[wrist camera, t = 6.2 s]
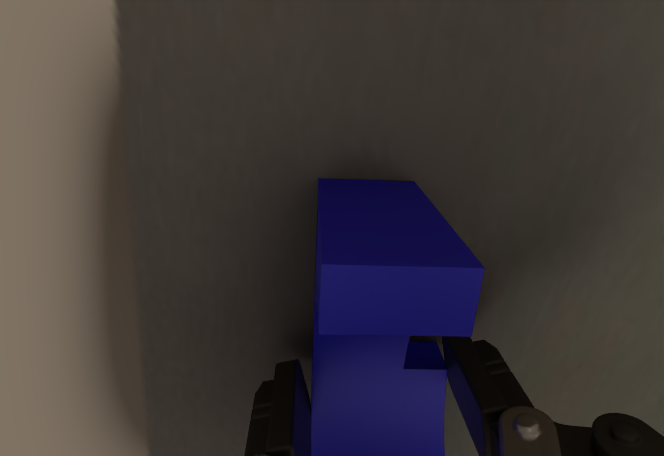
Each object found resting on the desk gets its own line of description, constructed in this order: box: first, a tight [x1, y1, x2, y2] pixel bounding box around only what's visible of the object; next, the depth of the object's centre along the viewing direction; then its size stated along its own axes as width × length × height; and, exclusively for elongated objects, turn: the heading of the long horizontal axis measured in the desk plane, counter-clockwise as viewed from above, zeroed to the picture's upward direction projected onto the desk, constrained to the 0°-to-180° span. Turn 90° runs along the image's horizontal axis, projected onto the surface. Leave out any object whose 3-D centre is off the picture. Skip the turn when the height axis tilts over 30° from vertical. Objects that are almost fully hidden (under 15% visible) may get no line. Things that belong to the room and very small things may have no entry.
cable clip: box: [311, 178, 485, 456], centre depth 13 cm, size 12×4×6 cm, turn 177°
